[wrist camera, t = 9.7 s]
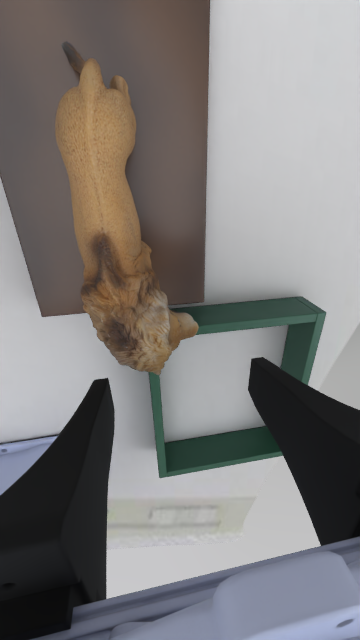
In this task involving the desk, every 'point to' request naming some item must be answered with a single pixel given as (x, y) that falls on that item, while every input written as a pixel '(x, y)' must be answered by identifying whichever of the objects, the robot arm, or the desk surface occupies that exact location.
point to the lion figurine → (113, 223)
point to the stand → (150, 138)
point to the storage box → (295, 362)
